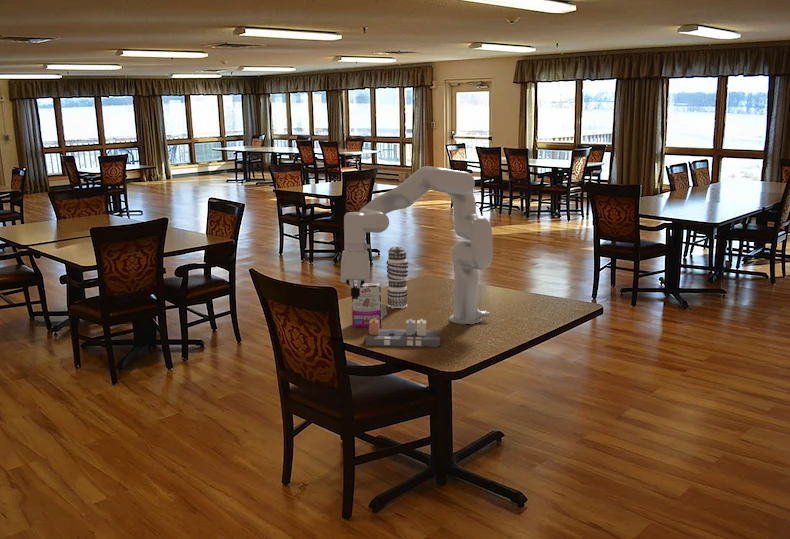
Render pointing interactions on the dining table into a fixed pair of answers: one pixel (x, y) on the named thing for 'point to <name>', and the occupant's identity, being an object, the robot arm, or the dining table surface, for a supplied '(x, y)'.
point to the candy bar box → (367, 305)
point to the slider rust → (374, 327)
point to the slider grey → (410, 327)
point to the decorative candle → (397, 277)
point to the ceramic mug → (383, 310)
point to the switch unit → (403, 338)
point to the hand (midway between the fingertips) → (355, 298)
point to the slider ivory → (421, 327)
